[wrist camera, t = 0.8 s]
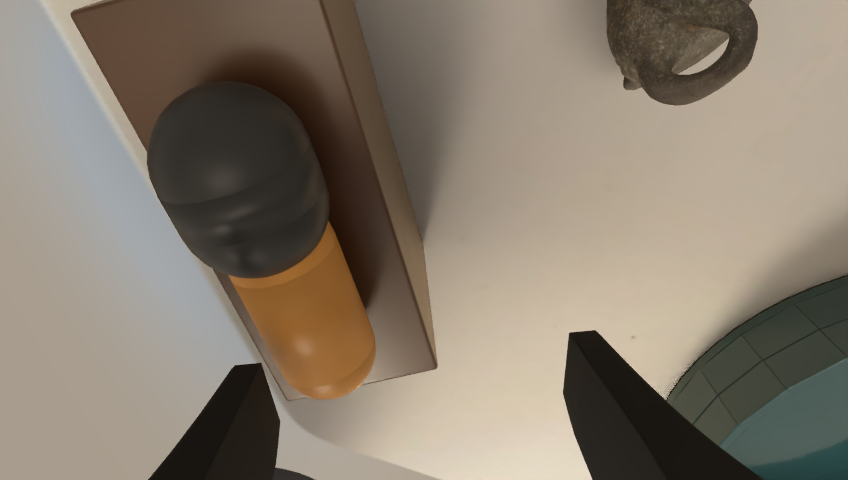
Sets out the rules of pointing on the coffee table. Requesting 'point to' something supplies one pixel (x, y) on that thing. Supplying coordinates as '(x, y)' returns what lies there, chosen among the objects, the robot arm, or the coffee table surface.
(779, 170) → the coffee table surface
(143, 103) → the block
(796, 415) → the bowl
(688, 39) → the dog figurine
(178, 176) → the microphone
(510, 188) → the coffee table surface
